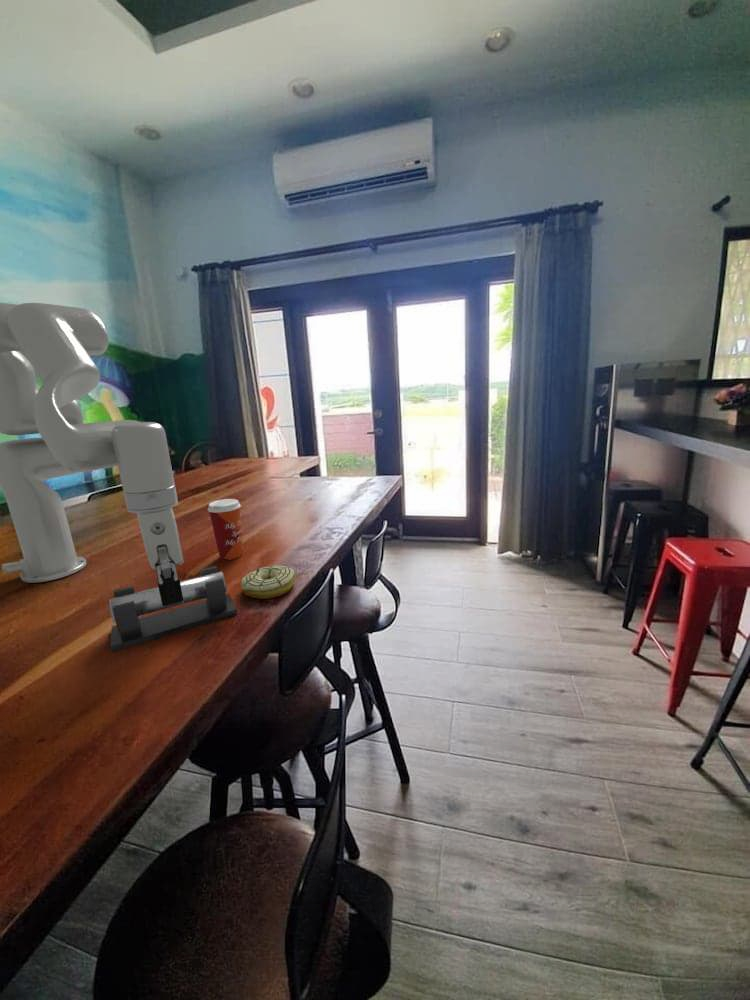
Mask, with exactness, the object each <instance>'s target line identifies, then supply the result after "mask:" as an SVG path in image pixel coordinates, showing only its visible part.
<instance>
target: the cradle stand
mask: <svg viewBox="0 0 750 1000" xmlns="http://www.w3.org/2000/svg"><path fill="white" fill-rule="evenodd" d="M218 571H219V570H218V566H217V565H215V566H210V567H205V568H203V569H202V568H201V569H199V573H200V577H201V576H205V575H209V574H213V573H217V572H218ZM205 586H206V592H207V598H204V600H202V601H198V602H195V603H192V604H187V605H183V606H180V607H177V608H172V609H169V610H165V611H162V612H159V613H156V614H152V615H148V616H144V617H141V616H138V617H137V612H136V608H135V604H134V601H131V602H127V603H123V604H120V605H116V606H112V609H113V613H114V617H115V621H116V623H115V624H116V625H112V626H111V633H110V635H111V636H110V645H109V646H110V647H109V648H110V651H111V653H113V652H116V651H120V650H124V649H126V648H129V647H130V648H131V647H134V646H137V645H140V644H143V643H146V642H150V641H152V640H153V641H154V640H157V639H160V638H164V637H166V636H169V635H172V634H175V633H176V634H177V633H180V632H182V631H186V630H189V629H192V628H197V627H199V626H202V625H205V624H209V623H212V622H216V621H220V620H222V619H226V618H229V617H232V616H235V615H238V609H237V607H236V605H235V603H234V601H233V599H232V597H231V595H230V594H229V593H227V592H225V587H224V581H223V578H221V579H217V580H213V581H209V582H206V583H205ZM133 593H136V590H135V587H134V585H133V586H127V587H123V588H119V589H114V590H113V595H114V598H117V597H121V596H125V595H129V594H133ZM226 593H227V594H226Z"/></svg>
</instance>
